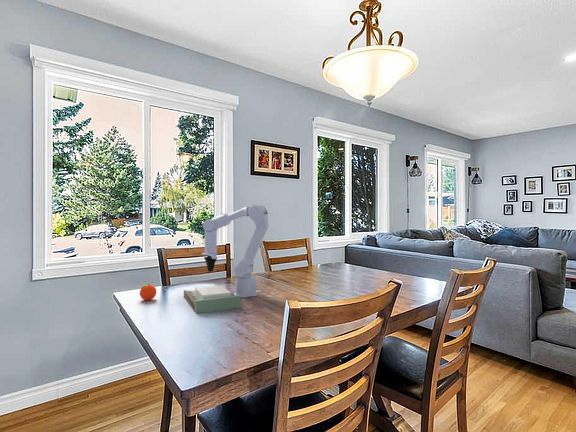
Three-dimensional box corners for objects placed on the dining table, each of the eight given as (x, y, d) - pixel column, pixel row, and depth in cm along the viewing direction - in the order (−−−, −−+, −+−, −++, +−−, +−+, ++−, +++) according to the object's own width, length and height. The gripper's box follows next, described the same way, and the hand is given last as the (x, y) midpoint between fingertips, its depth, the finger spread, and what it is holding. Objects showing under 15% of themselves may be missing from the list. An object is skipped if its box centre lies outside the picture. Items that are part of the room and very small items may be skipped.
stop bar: (238, 306, 140) (238, 294, 140) (240, 307, 138) (240, 295, 138) (194, 312, 132) (195, 299, 131) (195, 313, 130) (196, 301, 130)
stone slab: (221, 291, 152) (221, 285, 151) (231, 299, 139) (231, 292, 139) (195, 294, 146) (195, 287, 146) (202, 302, 134) (202, 295, 134)
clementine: (136, 303, 142) (136, 286, 142) (137, 298, 149) (137, 283, 149) (156, 301, 145) (156, 285, 145) (156, 297, 152) (156, 282, 152)
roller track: (222, 292, 162) (222, 286, 162) (238, 306, 140) (238, 299, 140) (183, 296, 153) (183, 290, 153) (194, 311, 132) (194, 304, 132)
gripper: (199, 242, 166) (198, 269, 167) (206, 245, 153) (205, 274, 154) (213, 242, 169) (212, 268, 170) (221, 245, 157) (220, 273, 157)
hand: (210, 271), depth 162 cm, fingers closed
